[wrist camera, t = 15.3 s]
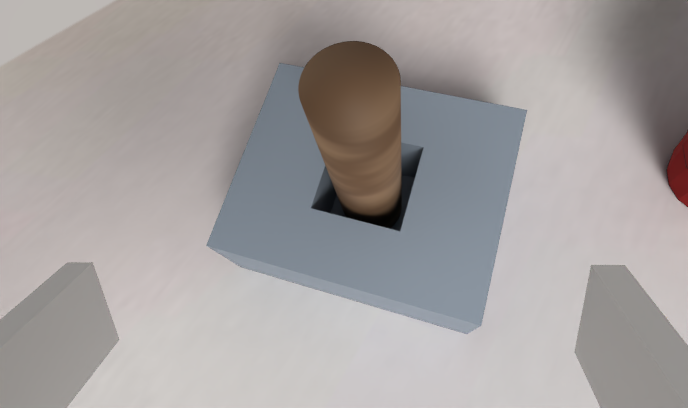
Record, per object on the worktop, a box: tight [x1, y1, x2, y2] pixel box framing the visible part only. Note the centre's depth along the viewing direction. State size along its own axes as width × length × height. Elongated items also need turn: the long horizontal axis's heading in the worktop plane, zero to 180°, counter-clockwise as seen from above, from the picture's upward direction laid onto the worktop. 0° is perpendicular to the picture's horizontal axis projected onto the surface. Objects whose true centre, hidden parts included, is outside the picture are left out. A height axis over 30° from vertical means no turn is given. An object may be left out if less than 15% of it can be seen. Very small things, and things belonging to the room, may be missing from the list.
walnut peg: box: [298, 41, 402, 229], centre depth 25 cm, size 4×4×15 cm
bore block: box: [206, 63, 527, 334], centre depth 30 cm, size 16×13×6 cm
